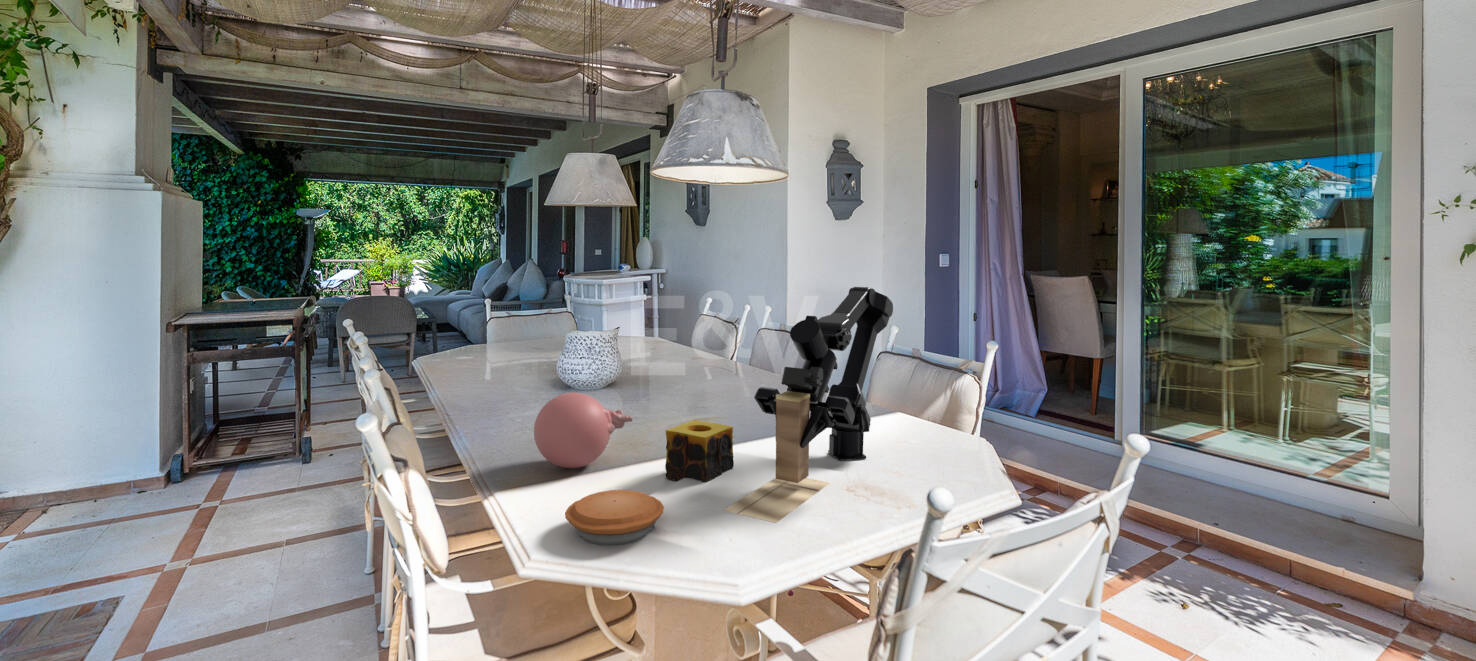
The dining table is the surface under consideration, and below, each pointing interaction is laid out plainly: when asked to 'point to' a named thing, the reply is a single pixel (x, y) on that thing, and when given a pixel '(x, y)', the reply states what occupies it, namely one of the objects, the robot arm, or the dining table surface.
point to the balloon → (575, 429)
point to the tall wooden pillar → (791, 436)
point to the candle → (698, 451)
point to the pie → (614, 516)
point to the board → (776, 499)
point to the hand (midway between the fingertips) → (789, 444)
